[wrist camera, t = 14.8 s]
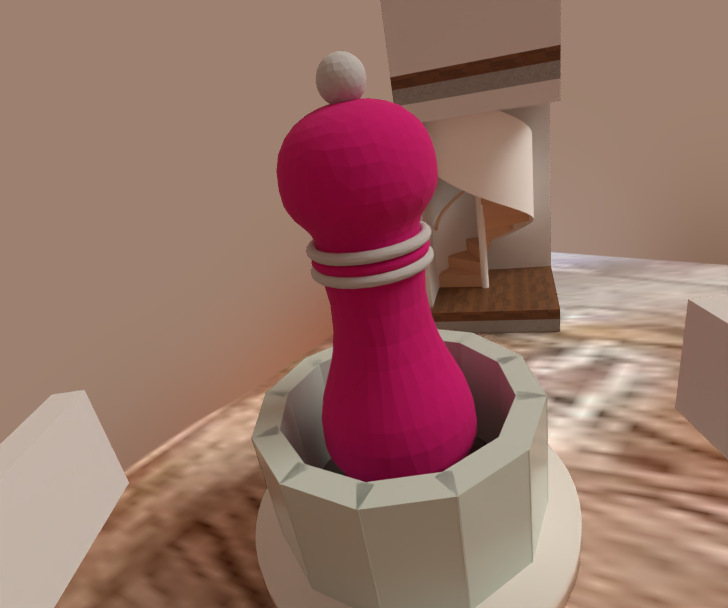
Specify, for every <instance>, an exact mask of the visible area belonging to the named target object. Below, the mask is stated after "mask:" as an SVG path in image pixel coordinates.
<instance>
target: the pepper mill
mask: <svg viewBox="0 0 728 608" xmlns="http://www.w3.org/2000/svg"><path fill="white" fill-rule="evenodd" d="M316 85H317V88H318V91H319V93H320V95H321V96H322V98H323V99H324V100H325V101H326V102H328V103H329V105H326V106H324V107H321V108H318V109H316V110H315V111H313V112H311V113H309V114H308V115H306V116H305V117H304V118H302V119H301V120H300V121H299V122H298V123H296V124H295V125H294V126H293V128H292V129H291V130H290V132H289V133H288V135H287V136H286V137H285V139H284V141H283V144H282V146H281V149H280V152H279V154H278V162H277V179H278V187H279V193H280V196H281V199H282V203H283V206H284V208H285V209H286V211H287V212H288V214H289V215H290V216H291V217H292V219H293V220H294V221H295V222H296V223H297V224H299V225H300V226H301V227H302V228H304V229H305V230H306V231H307V232H308V233H309V234H310V235H311V236H312V238H313V240H312V241H311V242H310V243H309V245H308V246H307V249H306V252H307V255H308V257H309V258H310V259H311V260H312V269H311V274H312V277H313V279H314V280H315V281H317V282H318V283H320V284H322V285H324V286H325V288H326V291H327V295H328V298H329V301H330V305H331V313H332V321H333V330H334V334H333V353H332V360H331V365H330V369H329V373H328V377H327V382H326V386H325V390H324V395H323V406H322V426H323V432H324V439H325V443H326V448H327V450H328V453H329V455H330V456H331V458H332V460H333V461H334V463H335V464H336V465H337V466H338V467H339V468H340V469H341V470H342V471H343V472H345V476H347V477H350V478H353V479H357V480H360V481H363V482H371V481H379V480H386V479H394V478H401V477H408V476H416V475H423V474H430V473H438V472H443V471H444V470H446V469H448V468H449V467H451V466H453V465H454V464H456V463H457V462H459V461H461V460H462V459H464V458H466V457H467V456H469V454H468V452H469V451H470V449H471V448H472V445H473V443H474V440H475V437H476V432H477V417H476V411H475V405H474V400H473V397H472V393H471V390H470V388H469V386H468V383H467V381H466V379H465V376H464V374H463V372H462V371H461V369H460V367H459V366H458V364H457V363H456V361H455V359H454V358H453V356H452V355H451V353H450V352H449V350H448V348H447V347H446V345H445V343H444V341H443V340H442V338H441V336H440V334H439V332H438V329H437V327H436V324H435V322H434V320H433V317H432V314H431V310H430V305H429V301H428V297H427V292H426V277H425V268H426V267H427V266H428V265H429V264H430V263H431V262H432V260H433V257H434V252H433V249H432V247H431V246H430V241H429V238H430V236H431V228H430V226H429V225H428V224H426V223H425V222H423V221H420V219H421V215H422V213H423V211H424V210H425V208H426V207H427V205H428V204H429V202H430V200H431V199H432V197H433V194H434V192H435V190H436V186H437V181H438V168H437V159H436V154H435V150H434V146H433V142H432V140H431V138H430V136H429V133H428V131H427V130H426V128H425V127H424V125H423V124H422V122H421V121H420V120H419V119H418V118H417V117H416V116H414V115H413V114H412V113H411V112H409V111H408V110H406V109H405V108H403V107H402V106H401V105H398V104H395V103H392V102H388V101H385V100H379V99H370V98H367V99H360V97H361V96H362V94H363V93H364V90H365V87H366V72H365V69H364V66H363V65H362V63H361V62H360V60H359V59H358V58H356V57H355V56H354V55H352V54H350V53H348V52H344V51H340V52H333V53H331V54H329V55H327V56H326V57H325V58H324V59H323V60H322V61H321V63H320V64H319V67H318V69H317V74H316Z"/></svg>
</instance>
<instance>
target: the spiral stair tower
mask: <svg viewBox="0 0 728 608" xmlns="http://www.w3.org/2000/svg"><path fill="white" fill-rule="evenodd" d="M380 1H381V9H382V17H383V24H384V32H385V40H386V48H387V55H388V63H389V71H390V79H391V86H392V94H393V101H394V103H395V104H398V105H401V106H402V107H403V108H405V109H406V110H408V111H409V112H411V113H412V114H413V115H414V116H416V117H417V118H418V119H419V120H420V121H421V122H422V124H423V125H424V127H425V128H426V130H427V131H428V133H429V136H430V138H431V140H432V142H433V146H434V150H435V154H436V159H437V168H438V181H437V186H436V190H435V192H434V194H433V197H432V199H431V200H430V202H429V204H428V205H427V207H426V208H425V210H424V211H423V213H422V215H421V219H420V221H423V222H425V223H426V224H428V225H429V226H430V228H431V236H430V238H429V241H430V246H431V247H432V249H433V252H434V257H433V260H432V262H431V263H430V264H429V265H428V266H427V267H426V268H425V277H426V292H427V297H428V301H429V305H430V310H431V314H432V317H433V320H434V322H435V324H436V327H437V329H440V330H450V331H460V332H470V333H503V332H560V307H559V302H558V297H557V293H556V288H555V283H554V279H553V274H552V269H551V224H550V223H551V221H550V219H551V216H550V214H551V212H550V102H555V101H560V15H561V13H560V9H561V7H560V4H561V2H560V1H561V0H380Z"/></svg>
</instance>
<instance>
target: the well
mask: <svg viewBox="0 0 728 608" xmlns="http://www.w3.org/2000/svg"><path fill="white" fill-rule="evenodd" d="M438 332H439V334H440V336H441V338H442V340H443V341H444V343H445V345H446V347H447V348H448V350H449V352H450V353H451V355H452V356H453V358H454V359H455V361H456V363H457V364H458V366H459V367H460V369H461V371H462V372H463V374H464V376H465V379H466V381H467V383H468V386H469V388H470V390H471V393H472V397H473V400H474V405H475V411H476V417H477V432H476V437H475V440H474V443H473V445H472V448H471V449H470V451H469V452H468V454H469V456H467V457H466V458H464V459H462V460H461V461H459V462H457V463H456V464H454V465H453V466H451V467H449V468H448V469H446V470H444V471H443V472H438V473H430V474H423V475H416V476H408V477H401V478H394V479H386V480H379V481H371V482H363V481H360V480H357V479H353V478H350V477H347V476H345V472H343V471H342V470H341V469H340V468H339V467H338V466H337V465H336V464H335V463H334V461H333V460H332V458H331V456H330V455H329V453H328V450H327V448H326V443H325V439H324V432H323V426H322V406H323V395H324V390H325V386H326V382H327V377H328V373H329V369H330V365H331V360H332V353H333V346H332V347H330V348H328V349H325V350H323V351H321V352H318V353H316V354H314V355H311V356H309V357H306V358H305V359H304V360H302V361H301V362H300V363H299V364H298V365H297V366H296V367H294V368H293V369H292V370H291V371H290V372H289V373H288V374H287V375H285V376H284V377H283V378H282V379H281V380H280V381H279V382H278V383H276V384H275V385H274V386H273V387H272V388H271V389H270V390H269V391H267V392H266V393H265V397H264V400H263V403H262V407H261V410H260V413H259V416H258V419H257V422H256V426H255V429H254V432H253V435H252V438H251V439H252V442H253V445H254V448H255V451H256V454H257V457H258V460H259V463H260V466H261V469H262V472H263V475H264V478H265V481H266V484H267V489H266V491H265V493H264V495H263V498H262V501H261V504H260V508H259V511H258V516H257V523H256V551H257V557H258V563H259V566H260V569H261V572H262V575H263V578H264V581H265V583H266V586H267V589H268V592H269V594H270V597H271V600H272V602H273V604H274V606H275V608H564V607H565V606H566V604H567V601H568V599H569V597H570V594H571V592H572V590H573V588H574V585H575V582H576V578H577V573H578V569H579V565H580V552H581V527H582V520H581V510H580V502H579V499H578V495H577V491H576V488H575V485H574V483H573V481H572V478H571V476H570V474H569V472H568V470H567V468H566V467H565V465H564V464H563V462H562V461H561V459H560V458H559V456H558V455H557V454H556V453H555V452H554V450H553V449H552V448H551V447H550V446H549V445H548V430H547V395H546V394H545V392H544V391H543V389H542V387H541V386H540V384H539V383H538V381H537V380H536V378H535V376H534V375H533V373H532V372H531V370H530V368H529V367H528V365H527V364H526V362H525V361H524V359H523V357H522V355H520V354H518V353H515V352H513V351H511V350H509V349H507V348H505V347H502V346H500V345H498V344H496V343H494V342H492V341H489V340H487V339H485V338H483V337H481V336H479V335H476V334H474V333H470V332H460V331H450V330H440V329H438Z"/></svg>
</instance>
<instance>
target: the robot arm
mask: <svg viewBox="0 0 728 608" xmlns="http://www.w3.org/2000/svg"><path fill="white" fill-rule="evenodd" d="M675 408H676V409H677V410H678V411H679V412H680V413H681V414H682V415H683V416H684V417H685V418H686V419H687V420H688V421H689V422H690V423H691V424H692V425H693V426H694V427H695V428H696V429H697V430H698V431H699V432H700V433H701V434H702V435H703V436H704V437H705V438H706V439H707V440H708V441H709V442H710V443H711V444H712V445H713V446H715V447H716V448H717V449H718V450H719V451H720V452H721V453H722V454H723V455H724V456H725V457H726V458H727V459H728V294H727V293H726V294H719V295H713V296H706V297H699V298H693V299H688V306H687V314H686V322H685V330H684V339H683V347H682V355H681V363H680V372H679V380H678V388H677V396H676V405H675ZM128 484H129V482H128V480H127V478H126V476H125V473H124V471H123V469H122V467H121V465H120V463H119V461H118V459H117V457H116V455H115V453H114V451H113V449H112V447H111V444H110V442H109V440H108V438H107V436H106V434H105V432H104V430H103V428H102V426H101V424H100V422H99V419H98V417H97V415H96V413H95V411H94V409H93V407H92V405H91V403H90V401H89V399H88V397H87V394H86V392H85V390H80V391H73V392H66V393H60V394H53V395H51V396H50V397H49V398H48V399H47V400H46V401H45V402H44V403H43V404H42V405H41V406H39V407H38V408H37V409H36V410H35V411H34V412H33V413H32V414H31V415H30V416H29V417H28V418H27V419H26V420H25V421H24V422H23V423H22V424H21V425H20V426H19V427H18V428H17V429H16V430H15V431H14V432H13V433H11V435H9V436H8V437H7V438H6V439H5V440H4V441H3V442H2V443H1V444H0V608H54V607H55V605H56V604H57V602H58V600H59V599H60V597H61V595H62V594H63V592H64V590H65V589H66V587H67V585H68V584H69V582H70V580H71V579H72V577H73V575H74V574H75V572H76V570H77V569H78V567H79V565H80V564H81V562H82V560H83V559H84V557H85V555H86V554H87V552H88V550H89V549H90V547H91V545H92V544H93V542H94V540H95V539H96V537H97V535H98V534H99V532H100V530H101V529H102V527H103V525H104V524H105V522H106V520H107V519H108V517H109V515H110V514H111V512H112V510H113V509H114V507H115V505H116V504H117V502H118V500H119V499H120V497H121V495H122V494H123V492H124V490H125V489H126V487H127V485H128Z"/></svg>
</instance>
